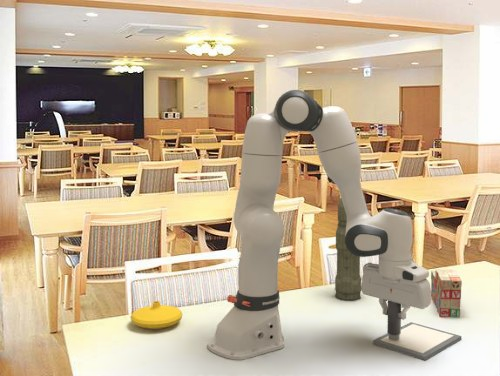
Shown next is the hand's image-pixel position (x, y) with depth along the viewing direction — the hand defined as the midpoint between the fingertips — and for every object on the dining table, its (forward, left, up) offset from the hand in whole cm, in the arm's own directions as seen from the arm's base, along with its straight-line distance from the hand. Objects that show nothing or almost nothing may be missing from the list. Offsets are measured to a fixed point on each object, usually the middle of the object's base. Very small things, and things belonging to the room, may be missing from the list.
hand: (394, 316), depth 165 cm
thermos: (+25, +34, -8) cm, 43 cm away
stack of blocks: (+39, +5, -8) cm, 40 cm away
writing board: (+6, -4, -8) cm, 11 cm away
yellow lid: (-37, +60, -8) cm, 71 cm away
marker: (0, 0, -6) cm, 6 cm away
